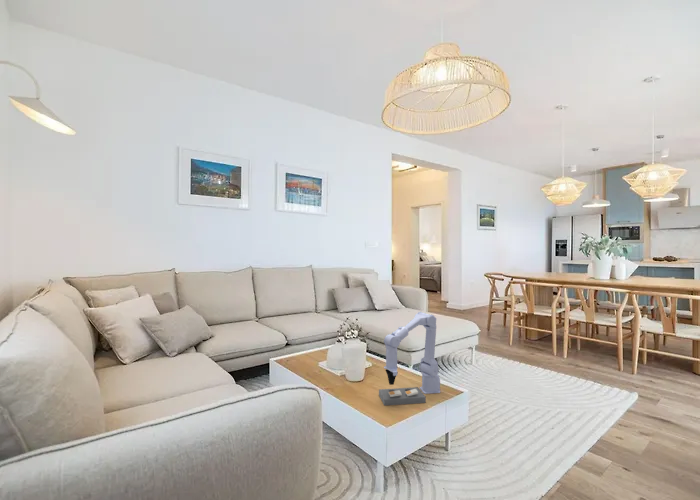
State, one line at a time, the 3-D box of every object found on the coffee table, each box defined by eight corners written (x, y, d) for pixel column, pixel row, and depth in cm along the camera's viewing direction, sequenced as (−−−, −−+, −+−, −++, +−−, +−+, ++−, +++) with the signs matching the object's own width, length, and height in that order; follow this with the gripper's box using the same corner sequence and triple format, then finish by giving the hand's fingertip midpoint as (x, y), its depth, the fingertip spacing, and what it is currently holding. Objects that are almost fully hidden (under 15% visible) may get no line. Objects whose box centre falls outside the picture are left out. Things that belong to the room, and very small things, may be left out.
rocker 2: (416, 390, 180) (415, 388, 180) (418, 393, 176) (417, 391, 176) (405, 393, 179) (404, 391, 179) (407, 396, 175) (407, 394, 175)
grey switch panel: (417, 392, 187) (417, 386, 187) (425, 402, 175) (425, 396, 175) (378, 394, 184) (378, 389, 184) (384, 405, 172) (384, 399, 172)
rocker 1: (399, 391, 178) (399, 389, 178) (401, 395, 175) (401, 392, 175) (388, 393, 177) (388, 391, 177) (390, 397, 174) (390, 394, 174)
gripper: (380, 353, 182) (380, 378, 183) (387, 363, 168) (387, 390, 168) (393, 353, 183) (393, 378, 184) (401, 362, 169) (401, 389, 169)
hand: (391, 384), depth 176 cm, fingers closed
